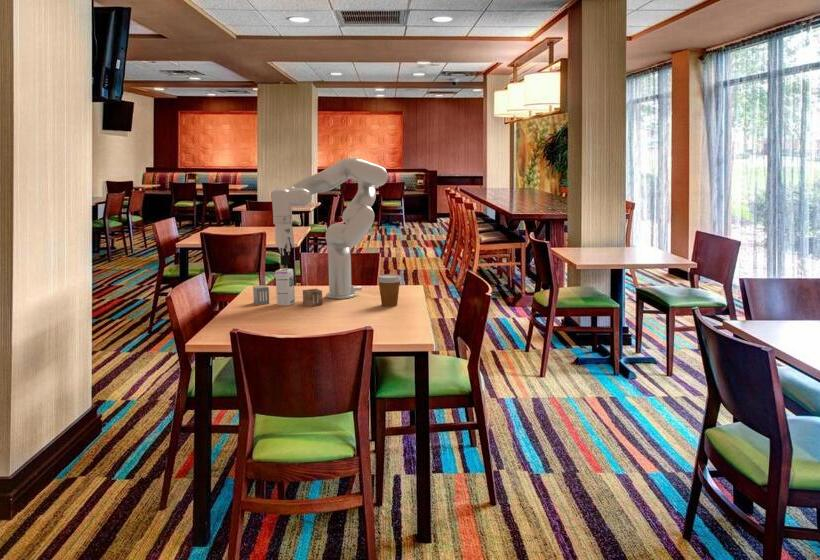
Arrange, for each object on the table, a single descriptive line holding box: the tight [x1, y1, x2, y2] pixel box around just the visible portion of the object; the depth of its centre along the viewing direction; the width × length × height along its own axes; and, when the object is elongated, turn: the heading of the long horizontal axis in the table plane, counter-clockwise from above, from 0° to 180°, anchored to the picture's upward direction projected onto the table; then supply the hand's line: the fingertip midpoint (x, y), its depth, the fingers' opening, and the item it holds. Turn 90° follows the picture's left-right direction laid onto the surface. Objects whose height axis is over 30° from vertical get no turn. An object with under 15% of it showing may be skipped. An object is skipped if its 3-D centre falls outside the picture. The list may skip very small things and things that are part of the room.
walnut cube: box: [302, 288, 323, 308], centre depth 296 cm, size 6×6×6 cm
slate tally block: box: [252, 285, 270, 306], centre depth 299 cm, size 5×5×7 cm
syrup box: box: [274, 268, 296, 307], centre depth 297 cm, size 6×6×14 cm
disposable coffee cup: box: [376, 273, 402, 307], centre depth 292 cm, size 10×10×12 cm
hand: (285, 264), depth 295 cm, fingers closed
